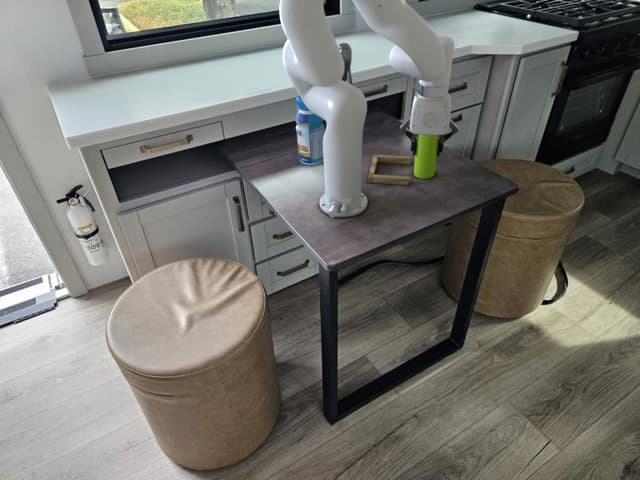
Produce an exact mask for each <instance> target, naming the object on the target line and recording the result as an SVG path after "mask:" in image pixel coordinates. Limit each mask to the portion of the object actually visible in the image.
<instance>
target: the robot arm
mask: <svg viewBox="0 0 640 480" xmlns="http://www.w3.org/2000/svg"><path fill="white" fill-rule="evenodd" d="M279 1H280V2H279V19H280V24H281V27H282V30H283V32H284V34H285V36H286V38H287V40H286V41H285V43H284V46H283V49H282V62H283V67H284V70H285V71H286V74H287V75H288V77H289V79H290V81H291V83H292V85H293V86H294V88H295V90H296V92H297V94H298V96H299V95H300V97H301V99H302V101H303V102H304V104H305V105H306V107H307V108H308V109H309V110H310V111H312V112H313V113H314V114H316V115H318V116H320V117H321V118H322V119H323V121H325V122H327V127H325V130H324V137H323V158H324V161H323V178H324V179H323V181H324V193H323V195H322V196H321V197H320V199H319V207H320V209H321V211H323V212H324V213H325V214H327V215H328V217H330V218H335V217H336V218H337V217H338V218H347V217H354V216H357V215H359V214H361V213H363V212H364V211H365V210H366V209H367V207H368V198H367V196H366V195H365V194H364V193H363V191H362V185H363V183H362V181H363V136H364V127H365V121H366V117H367V112H368V103H367V102H368V101H367V99H366V96H365V95H364V93H363V92H362V91H361V90H360V89H359V88H358V87H356V86H355V85H354V84H353V85H351V84H349V83H348V81H346V82H345V81H342V80H341V79H342V77H343V74H344V61H343V57H342V55H341V52H340V50H339V48H338V45H339V44H338V43H337V40H336V38H335V36H334V34H333V31H332V29H331V28H330V25H329V22H328V19H327V16H326V14H325V8H324V0H279ZM351 1H352V3H353V4H354V5H355V7H356V9H357V10H358V11H359V13H360V15H361V16H362V18H363V19H364V21H365V23H366V24H367V26H368V27H369V28H370V29H371V30H373V31H374V32H375V33H376V34H378V35H379V36H381V37H382V38H384V39H386V40H388V41H390V43H393V44H394V45H393V47H392V48H391V50H390V52H389V57H388V59H389V60H388V61H389V65H390V67H391V68H392V69H393V70H395V71H396V72H397V73H400V74H403V75H405V76H409V77H411V78H414V79H417V80H418V83H416V84H412V91H416V93H415V94H414V97H413V100H412V101H413V102H412V106H411V111H410V117H409V118H408V119H406V120H405V121H404V122H402V123H401V124H400V127H399V130H401V132H402V133H403V134H404V135H405V136H406V137H407V138H408V139H409V140H410V142H411V143H410V144H411V145H410V152H412V156H415V153H416V143H417V136H418V134H423V135H439V142H438V149H437V157H436V158H439V157H440V155H441V153H442V154H443V152H444V151H443V150H444V144H445V143H446V142H447V141H448V140H449V139H451V138H452V137H453V136H454V135H455V134H457V133H458V132H459V127H458V126H457V124H456V123H455V122H454V121H453V120H452V119H451V114H452V97H451V94H450V93H449V90H450V81H451V75H452V66H453V59H454V52H455V41H454V39H453V38H452V37H450V36H447V35H437V33H436V31H435V30H434V29H433V27H431V25H430V24H429V23H428V22H427V20H425V19H424V18H423V17H422V16H421V15H420V14H419V13H418V12H417V11H416V10H415V9H414V8H413V7H412V5H410V4H409V3H408V2H406V1H405V0H351ZM408 127H409V128H408Z"/></svg>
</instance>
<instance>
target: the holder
mask: <svg viewBox="0 0 640 480" xmlns="http://www.w3.org/2000/svg"><path fill="white" fill-rule="evenodd" d="M372 155H373V156H372V160H371V163H370V167H369V172H368V176H367V183H369V184H383V185H384V184H385V185H400V186H409V185H410V176H407V175H405V176H404V175H389V174H376V171H377V167H378V163H379V164H397V165H411V163H412V156H409V155H407V156H406V155H391V154H374V153H373V154H372Z"/></svg>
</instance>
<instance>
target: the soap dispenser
mask: <svg viewBox="0 0 640 480" xmlns="http://www.w3.org/2000/svg"><path fill="white" fill-rule="evenodd" d="M416 139H417V143H416V153H415V155H414V165H413V175H414V177H416V178H417V179H422V180H423V179H425V180H426V179H431V178H433V177H434V176H435V171H436V163H437V158H438V157H437V149H438V142H439V135H423V134H418V136H417V138H416Z"/></svg>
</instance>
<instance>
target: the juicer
mask: <svg viewBox="0 0 640 480" xmlns="http://www.w3.org/2000/svg"><path fill="white" fill-rule="evenodd" d="M337 45H338V48H339V50H340V52H341V55H342V57H343V61H344V74H343V77H342V79H341V80H342V81H345V82H347V83H349V84H351V85H353V86H354V83H353V77H352V70H351V66H352V60H353V50H352V47H351V45H350V44H349V43H347V42H341V43H339V44H337ZM325 122H326V121H325ZM325 124H326V125H325V126H326V127H327V122H326V123H325ZM326 127H325V128H326Z"/></svg>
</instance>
